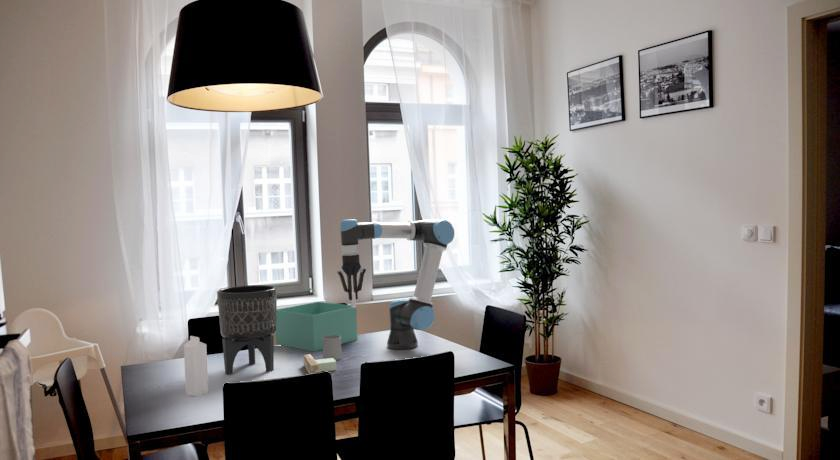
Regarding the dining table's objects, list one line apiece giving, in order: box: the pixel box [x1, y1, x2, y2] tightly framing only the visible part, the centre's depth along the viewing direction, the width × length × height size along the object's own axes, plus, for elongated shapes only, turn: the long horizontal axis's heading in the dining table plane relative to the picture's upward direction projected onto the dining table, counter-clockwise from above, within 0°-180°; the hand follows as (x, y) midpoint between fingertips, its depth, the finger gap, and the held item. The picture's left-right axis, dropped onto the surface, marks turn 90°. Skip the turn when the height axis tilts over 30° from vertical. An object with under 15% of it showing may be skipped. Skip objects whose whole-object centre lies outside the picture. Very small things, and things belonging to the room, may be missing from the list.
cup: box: [322, 335, 342, 361], centre depth 284 cm, size 8×8×10 cm
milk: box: [183, 335, 209, 397], centre depth 236 cm, size 6×6×22 cm
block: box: [314, 358, 338, 373], centre depth 266 cm, size 9×7×4 cm
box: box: [274, 301, 358, 352], centre depth 320 cm, size 30×30×18 cm
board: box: [302, 353, 320, 375], centre depth 263 cm, size 3×20×5 cm, turn 20°
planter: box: [216, 284, 278, 376], centre depth 268 cm, size 25×25×36 cm
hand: (353, 307), depth 273 cm, fingers closed
